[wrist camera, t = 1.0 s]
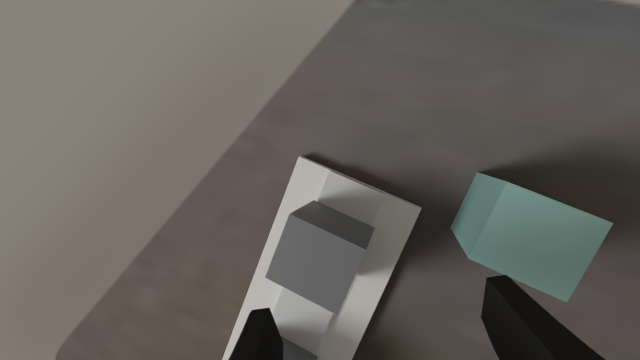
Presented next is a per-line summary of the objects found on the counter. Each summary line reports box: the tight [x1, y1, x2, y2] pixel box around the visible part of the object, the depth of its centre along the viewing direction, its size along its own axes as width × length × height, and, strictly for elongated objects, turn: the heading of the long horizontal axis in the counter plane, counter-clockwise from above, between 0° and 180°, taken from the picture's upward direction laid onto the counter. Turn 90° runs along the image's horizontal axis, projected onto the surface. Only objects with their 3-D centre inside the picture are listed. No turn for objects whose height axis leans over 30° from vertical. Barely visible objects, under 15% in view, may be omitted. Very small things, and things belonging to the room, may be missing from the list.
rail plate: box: [222, 156, 421, 360], centre depth 22 cm, size 9×18×6 cm, turn 158°
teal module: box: [450, 172, 613, 302], centre depth 18 cm, size 4×4×6 cm
